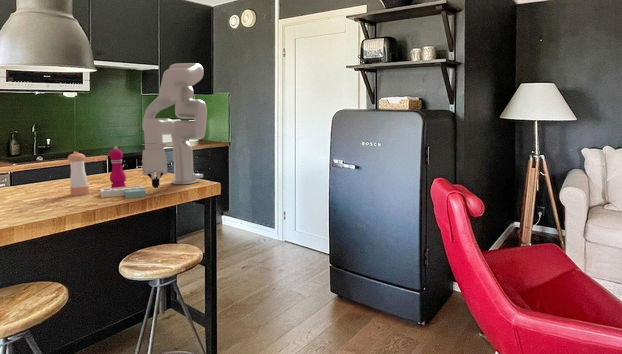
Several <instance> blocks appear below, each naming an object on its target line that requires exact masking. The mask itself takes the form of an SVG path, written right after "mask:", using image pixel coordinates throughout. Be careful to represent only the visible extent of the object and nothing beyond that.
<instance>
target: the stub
mask: <svg viewBox="0 0 622 354" xmlns="http://www.w3.org/2000/svg"><path fill="white" fill-rule="evenodd" d="M123 196H124V198H126V199H131V198H132V199H133V198H140V197H141V198H142V197H146V189H145V190H144V189H143V188H142V189H141V188H139V189H131V190H124V195H123Z"/></svg>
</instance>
